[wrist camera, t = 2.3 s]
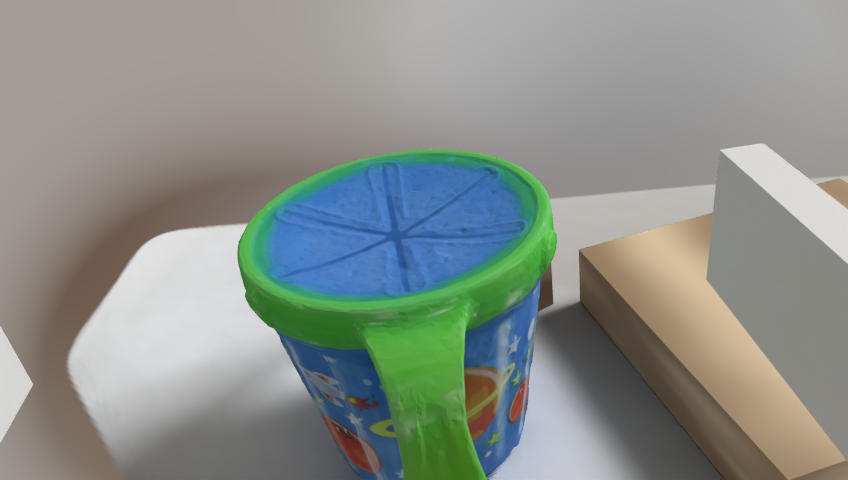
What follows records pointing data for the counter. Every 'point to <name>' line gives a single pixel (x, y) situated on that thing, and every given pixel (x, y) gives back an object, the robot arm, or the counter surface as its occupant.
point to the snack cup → (408, 305)
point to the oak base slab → (704, 353)
